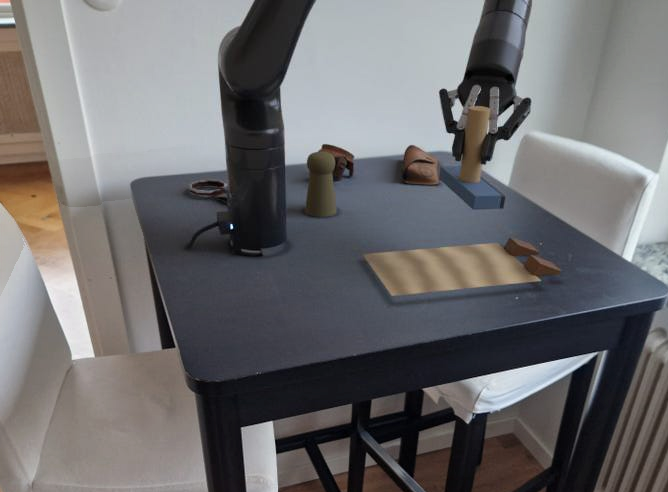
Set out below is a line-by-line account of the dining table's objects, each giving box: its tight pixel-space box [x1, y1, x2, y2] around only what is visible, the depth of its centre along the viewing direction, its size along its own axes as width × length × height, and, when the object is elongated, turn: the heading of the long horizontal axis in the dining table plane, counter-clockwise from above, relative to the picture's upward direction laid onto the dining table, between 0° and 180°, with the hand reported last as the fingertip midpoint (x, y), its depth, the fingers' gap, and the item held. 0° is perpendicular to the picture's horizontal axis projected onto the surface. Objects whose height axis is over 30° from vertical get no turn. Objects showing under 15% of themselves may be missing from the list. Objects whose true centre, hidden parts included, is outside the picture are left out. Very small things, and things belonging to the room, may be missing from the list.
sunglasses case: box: [401, 144, 440, 186], centre depth 151 cm, size 18×7×7 cm
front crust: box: [523, 255, 563, 277], centre depth 106 cm, size 4×3×2 cm
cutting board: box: [361, 242, 542, 297], centre depth 106 cm, size 24×15×2 cm, turn 106°
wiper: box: [438, 106, 506, 211], centre depth 97 cm, size 5×14×12 cm, turn 13°
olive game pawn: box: [304, 151, 337, 218], centre depth 126 cm, size 6×6×11 cm
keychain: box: [188, 179, 228, 204], centre depth 132 cm, size 8×19×2 cm, turn 55°
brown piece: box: [308, 143, 355, 183], centre depth 143 cm, size 12×10×8 cm
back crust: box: [503, 236, 540, 257], centre depth 112 cm, size 4×3×2 cm
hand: (470, 159), depth 95 cm, fingers closed on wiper, 3 cm apart
